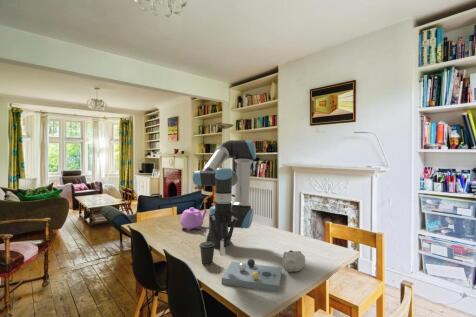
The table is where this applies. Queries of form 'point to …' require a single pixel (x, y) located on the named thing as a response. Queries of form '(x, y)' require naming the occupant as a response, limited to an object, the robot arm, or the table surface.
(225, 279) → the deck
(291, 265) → the candle
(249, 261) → the black ball
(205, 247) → the coffee cup
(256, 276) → the mustard ball
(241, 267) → the steel ball
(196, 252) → the table surface
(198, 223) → the teapot
